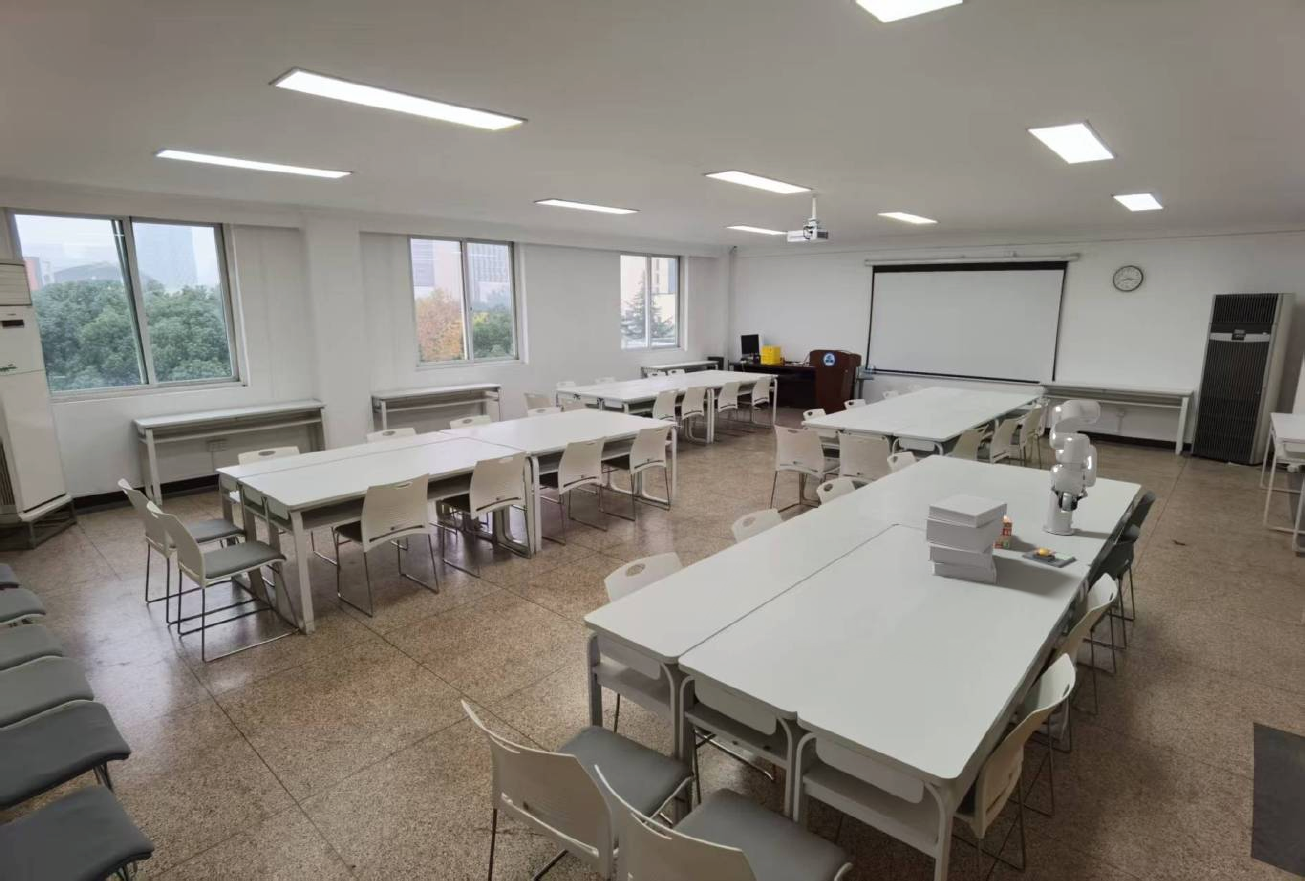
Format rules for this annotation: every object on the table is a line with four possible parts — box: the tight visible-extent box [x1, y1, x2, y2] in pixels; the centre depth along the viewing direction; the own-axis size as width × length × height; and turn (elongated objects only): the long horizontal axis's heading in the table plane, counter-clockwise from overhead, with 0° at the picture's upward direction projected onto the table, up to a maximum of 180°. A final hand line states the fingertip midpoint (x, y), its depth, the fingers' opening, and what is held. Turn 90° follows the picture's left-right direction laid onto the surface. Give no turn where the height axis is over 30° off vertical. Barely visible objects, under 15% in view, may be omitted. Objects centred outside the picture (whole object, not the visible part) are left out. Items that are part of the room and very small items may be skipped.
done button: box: [1039, 548, 1050, 557], centre depth 267 cm, size 4×4×2 cm
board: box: [1021, 547, 1076, 568], centre depth 270 cm, size 15×14×2 cm
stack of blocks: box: [993, 515, 1014, 550], centre depth 291 cm, size 21×6×12 cm, turn 170°
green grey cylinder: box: [1061, 492, 1074, 516], centre depth 273 cm, size 4×4×9 cm
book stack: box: [923, 493, 1008, 584], centre depth 263 cm, size 30×35×26 cm
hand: (1067, 508), depth 273 cm, fingers closed on green grey cylinder, 3 cm apart
